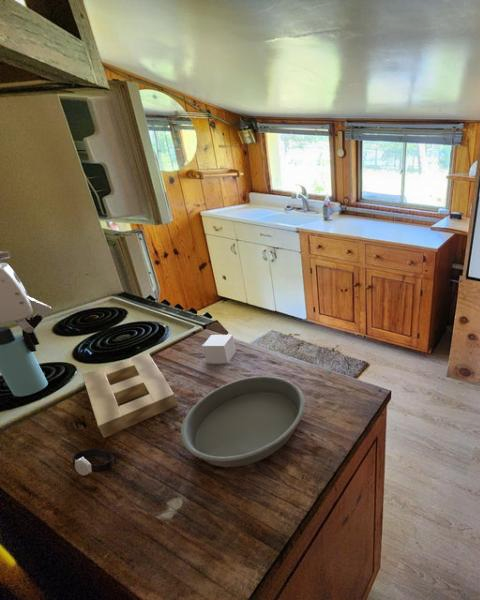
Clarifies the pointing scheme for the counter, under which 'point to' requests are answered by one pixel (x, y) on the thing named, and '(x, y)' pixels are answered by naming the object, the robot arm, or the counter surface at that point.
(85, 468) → the watch
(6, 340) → the bottle
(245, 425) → the cake pan
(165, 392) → the hole block
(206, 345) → the white cube
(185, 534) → the counter surface
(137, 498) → the counter surface
